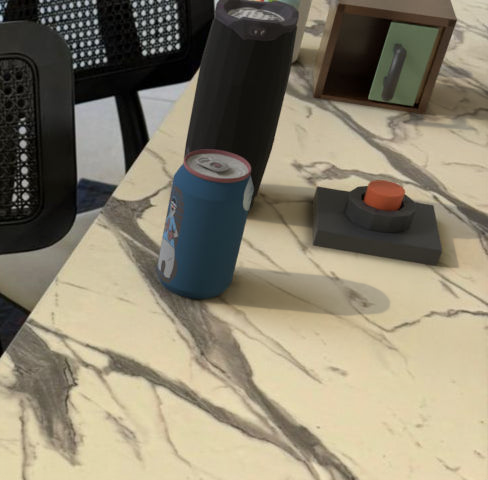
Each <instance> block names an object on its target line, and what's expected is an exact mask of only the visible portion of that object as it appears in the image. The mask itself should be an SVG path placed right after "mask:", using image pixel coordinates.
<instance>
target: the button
mask: <svg viewBox="0 0 488 480" xmlns="http://www.w3.org/2000/svg"><path fill="white" fill-rule="evenodd" d="M367 186H368V187H367V190H366V193H365V197H364V200H363V201H364V202H365V203H366V204H367V205H369V206H372V207H374V208H377V209H380V210H386V211H396V210H399V209H400V206H401V203H402V201H403V198H404V195H405V194H406V190H405V188H404V187H403V186H402V185H400V184H398V183H396V182H393V181H390V180H384V179H376V180H372V181H369V183H368V184H367Z"/></svg>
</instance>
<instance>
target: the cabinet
mask: <svg viewBox="0 0 488 480" xmlns="http://www.w3.org/2000/svg"><path fill="white" fill-rule="evenodd" d="M391 21H395V22H402V23H409V24H416V25H423V26H430V27H437V28H439V31H438V34H437V37H436V40H435V43H434V46H433V49H432V52H431V55H430V58H429V61H428V64H427V67H426V70H425V73H424V76H423V79H422V82H421V85H420V88H419V91H418V93H417V96H416V99H415V102H414V105H413V106H409V105H403V104H396V103H389V102H383V101H376V100H369V99H368V97H369V93H370V90H371V87H372V83H373V80H374V77H375V74H376V70H377V67H378V64H379V60H380V57H381V54H382V51H383V47H384V44H385V41H386V37H387V34H388V31H389V27H390V24H391ZM457 22H458V18H457V15H456V12H455V9H454V6H453V3H452V0H331V1H330V4H329V9H328V13H327V16H326V20H325V24H324V28H323V32H322V35H321V40H320V43H319V47H318V50H317V54H316V58H315V61H314V66H313V69H312V98H313V99H318V100H325V101H326V100H327V101H332V102H337V103H338V102H339V103H345V104H352V105H359V106H364V107H371V108H377V109H385V110H390V111H391V110H392V111H397V112H405V113H411V114H418V115H424V116H425V115H426V112H427V109H428V106H429V104H430V100H431V97H432V94H433V92H434V89H435V86H436V84H437V80H438V77H439V74H440V71H441V69H442V65H443V63H444V59H445V57H446V53H447V51H448V48H449V45H450V42H451V39H452V37H453V33H454V31H455V28H456V26H457V25H456V24H457Z"/></svg>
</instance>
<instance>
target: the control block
mask: <svg viewBox="0 0 488 480" xmlns="http://www.w3.org/2000/svg"><path fill="white" fill-rule="evenodd" d="M367 187H368V185H360V186H356V187H355V188H353V189H352V190H350V191H349V190H342V189H337V188H330V187H329V188H328V187H323V186H316V188H315V192H314V195H313V200H312V246H314V247H319V248H325V249H331V250H337V251H343V252H350V253H353V254H354V253H355V254H360V255H367V256H373V257H379V258H384V259H391V260H396V261H402V262H408V263H415V264H421V265H426V266H431V267H437V266H438V263H439V260H440V258H441V256H442V253H443V248H442V242H441V237H440V232H439V227H438V222H437V217H436V211H435V206H434V204H428V203H424V202H423V203H422V202H416V201H414V200H413V199H412V198H411V197H410V196H408V195H407V194H406V193H405V195H404V198H403V201H402V203H401V206H400V209H399V210H396V211H386V210H380V209H377V208H374V207H372V206H369V205H367V204H366V203H365V202H364V201H363V200H364V197H365V193H366V190H367Z"/></svg>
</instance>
